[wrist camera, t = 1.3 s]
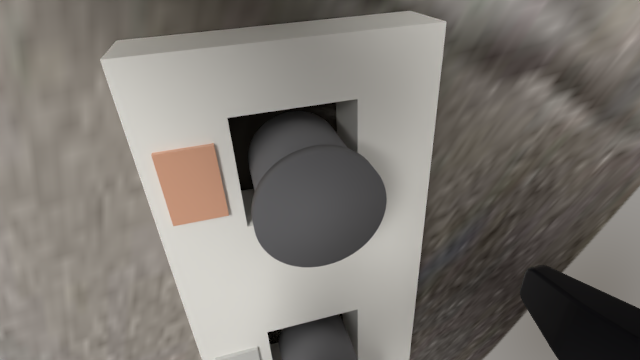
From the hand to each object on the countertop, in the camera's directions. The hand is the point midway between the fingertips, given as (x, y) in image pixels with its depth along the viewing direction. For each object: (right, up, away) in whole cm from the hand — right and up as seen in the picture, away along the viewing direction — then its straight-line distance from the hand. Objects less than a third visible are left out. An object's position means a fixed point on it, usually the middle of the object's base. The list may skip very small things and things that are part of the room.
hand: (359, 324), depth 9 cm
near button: (-2, +4, +8) cm, 9 cm away
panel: (-2, 0, +13) cm, 13 cm away
